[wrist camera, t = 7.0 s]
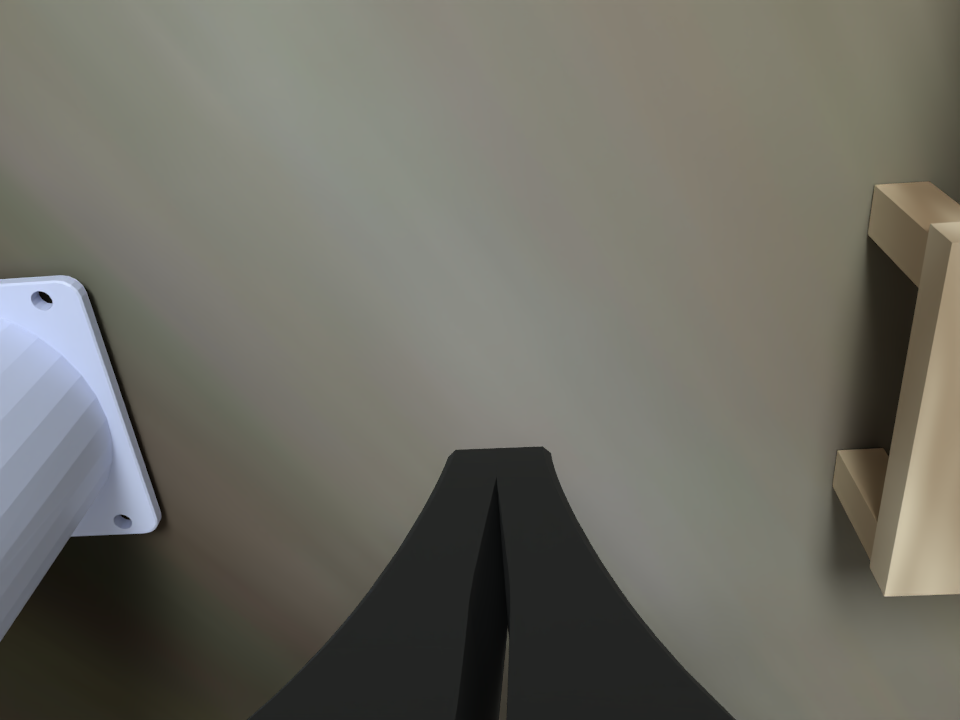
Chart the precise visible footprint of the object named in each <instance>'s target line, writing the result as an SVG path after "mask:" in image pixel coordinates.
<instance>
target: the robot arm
mask: <svg viewBox="0 0 960 720" xmlns="http://www.w3.org/2000/svg"><path fill="white" fill-rule="evenodd" d="M39 291H41V292H45V293H46V294H48V295H49V296H50V298H51V299H52V303H53V304H52V303H47V302H45V301H44V300H42V298H41V297H40V295H39ZM120 514H121V515H126V516H127V517H129V518H130V519H131V520H128V519H125V518H123V517H122V516H121V515H120ZM160 520H161V511H160V508H159V505H158V502H157V499H156V496H155V493H154V490H153V487H152V484H151V481H150V478H149V475H148V472H147V469H146V466H145V463H144V460H143V458H142V455H141V452H140V449H139V446H138V443H137V440H136V437H135V434H134V431H133V428H132V425H131V422H130V419H129V416H128V413H127V410H126V407H125V404H124V401H123V398H122V395H121V392H120V389H119V386H118V383H117V380H116V377H115V374H114V371H113V368H112V365H111V362H110V360H109V357H108V354H107V351H106V348H105V345H104V342H103V339H102V336H101V333H100V330H99V327H98V324H97V321H96V318H95V315H94V312H93V309H92V306H91V303H90V300H89V297H88V294H87V292H86V290H85V288H84V286H83V285H82V284H81V283H80V282H79V281H78V280H76V279H74V278H72V277H70V276H63V275H58V276H43V277H28V278H12V279H0V642H1V640H2V639H3V637H4V636H5V634H6V633H7V631H8V630H9V628H10V627H11V625H12V624H13V622H14V621H15V619H16V618H17V616H18V615H19V613H20V612H21V610H22V609H23V607H24V606H25V604H26V603H27V601H28V600H29V598H30V597H31V595H32V594H33V592H34V591H35V589H36V588H37V586H38V585H39V583H40V582H41V580H42V579H43V577H44V576H45V574H46V573H47V571H48V570H49V568H50V567H51V565H52V564H53V562H54V561H55V559H56V558H57V556H58V555H59V553H60V552H61V550H62V549H63V547H64V546H65V544H66V543H67V541H68V540H69V538H70V537H71V536H95V535H119V534H143V533H149V532H152V531H153V530H155V529H156V527H157V525H158V524H159V522H160ZM507 628H508V631H509V669H508V699H507V720H736V719H734V718H733V717H732V716H731V715H730V714H729V713H728V712H727V711H726V710H725V709H724V708H723V707H722V706H721V705H720V704H719V703H718V702H717V701H716V700H715V699H714V698H713V697H712V696H711V695H710V694H709V693H708V692H707V691H706V690H705V689H704V688H703V687H702V686H701V685H700V684H699V683H698V682H697V681H696V680H695V679H694V678H693V677H692V676H691V675H690V674H689V673H688V672H687V671H686V670H685V669H684V668H683V666H682V665H681V664H680V663H679V662H678V661H677V660H676V659H675V657H674V656H673V655H672V654H671V653H670V652H669V651H668V649H667V648H666V647H665V646H664V645H663V644H662V643H661V641H660V640H659V639H658V638H657V637H656V636H655V634H654V633H653V632H652V631H651V629H650V628H649V627H648V626H647V624H646V623H645V622H644V621H643V619H642V618H641V617H640V616H639V614H638V613H637V612H636V611H635V609H634V608H633V607H632V605H631V604H630V603H629V601H628V600H627V598H626V597H625V596H624V594H623V593H622V591H621V590H620V589H619V587H618V586H617V584H616V583H615V581H614V580H613V578H612V577H611V575H610V574H609V572H608V571H607V569H606V568H605V566H604V565H603V563H602V562H601V560H600V559H599V557H598V555H597V554H596V552H595V550H594V549H593V547H592V545H591V544H590V542H589V540H588V538H587V537H586V535H585V533H584V531H583V529H582V528H581V526H580V524H579V522H578V521H577V519H576V517H575V515H574V513H573V511H572V509H571V507H570V505H569V503H568V501H567V498H566V496H565V494H564V492H563V490H562V487H561V485H560V482H559V480H558V477H557V475H556V472H555V469H554V465H553V462H552V457H551V453H550V452H549V451H547V450H546V449H545V448H544V447H519V448H494V449H468V450H455V451H454V452H453V453H452V454H451V455H450V456H449V457H448V459H447V462H446V464H445V467H444V469H443V471H442V473H441V475H440V478H439V480H438V482H437V484H436V486H435V488H434V490H433V492H432V494H431V495H430V497H429V499H428V501H427V503H426V505H425V506H424V508H423V510H422V512H421V513H420V515H419V517H418V518H417V520H416V522H415V523H414V525H413V527H412V528H411V530H410V532H409V533H408V535H407V536H406V538H405V540H404V541H403V543H402V545H401V546H400V548H399V549H398V551H397V552H396V554H395V555H394V557H393V558H392V559H391V561H390V562H389V564H388V565H387V566H386V568H385V569H384V571H383V572H382V574H381V575H380V576H379V578H378V579H377V581H376V582H375V583H374V585H373V586H372V588H371V589H370V590H369V592H368V593H367V594H366V596H365V597H364V598H363V600H362V601H361V602H360V603H359V605H358V606H357V607H356V608H355V610H354V611H353V612H352V613H351V615H350V616H349V617H348V618H347V619H346V621H345V622H344V623H343V624H342V625H341V626H340V628H339V629H338V630H337V631H336V632H335V633H334V635H333V636H332V637H331V638H330V639H329V640H328V641H327V643H326V644H325V645H324V646H323V647H322V648H321V649H320V650H319V651H318V652H317V653H316V654H315V655H314V656H313V657H312V658H311V659H310V660H309V662H308V663H307V664H306V665H305V666H304V667H303V668H302V669H301V670H300V671H299V672H298V673H297V674H296V675H295V676H294V677H293V678H292V679H291V680H290V681H289V682H288V683H287V684H286V685H285V686H284V687H283V688H282V689H281V690H280V691H279V692H278V693H277V694H276V695H275V696H273V697H272V698H271V699H270V700H269V701H268V702H267V703H266V704H265V705H263V706H262V707H261V708H260V709H259V710H258V711H256V712H255V713H254V714H253V715H252V716H251V717H250V718H248V719H247V720H499V710H500V700H501V690H502V680H503V670H504V660H505V649H506V639H507Z"/></svg>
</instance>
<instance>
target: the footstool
mask: <svg viewBox="0 0 960 720" xmlns="http://www.w3.org/2000/svg"><path fill="white" fill-rule="evenodd" d="M868 235H869V236H870V237H871V238H872V239H873V240H874V241H875V243H876V244H877V245H878V246H879V247H880V248H881V249H882V250H883V251H884V252H885V253H886V254H887V255H888V256H889V257H890V258H891V259H892V260H893V262H894V263H895V264H896V265H897V266H898V267H899V268H900V269H901V270H902V271H903V272H904V273H905V274H906V275H907V276H908V277H909V278H910V279H911V280H912V282H913V283H914V284H915V285H916V286H917V287H918V288H919V290H918V295H917V301H916V307H915V312H914V318H913V324H912V329H911V335H910V341H909V346H908V352H907V358H906V363H905V369H904V375H903V380H902V386H901V392H900V397H899V403H898V409H897V414H896V420H895V426H894V431H893V437H892V443H891V448H890V454H889V456H888V455H887V453H886V452H885V450H884V448H875V449H854V450H837V457H836V464H835V471H834V478H833V485H832V486H833V488H834V490H835V492H836V494H837V496H838V498H839V500H840V502H841V504H842V506H843V508H844V510H845V512H846V514H847V515H848V517H849V519H850V521H851V523H852V525H853V527H854V529H855V531H856V533H857V535H858V537H859V539H860V541H861V543H862V545H863V547H864V549H865V551H866V553H867V555H868V557H869V559H870V569H871V571H872V573H873V575H874V577H875V579H876V581H877V583H878V585H879V587H880V589H881V591H882V593H883V595H884V597H886V596H915V595H944V594H960V205H959V204H958V203H957V202H955V201H954V200H953V199H952V198H950V197H949V196H948V195H946V194H945V193H944V192H942V191H941V190H940V189H939V188H937V187H936V186H935V185H933V184H932V183H931V182H929V181H926V182H911V183H897V184H882V185H875V187H874V194H873V201H872V208H871V215H870V222H869V229H868Z"/></svg>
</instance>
